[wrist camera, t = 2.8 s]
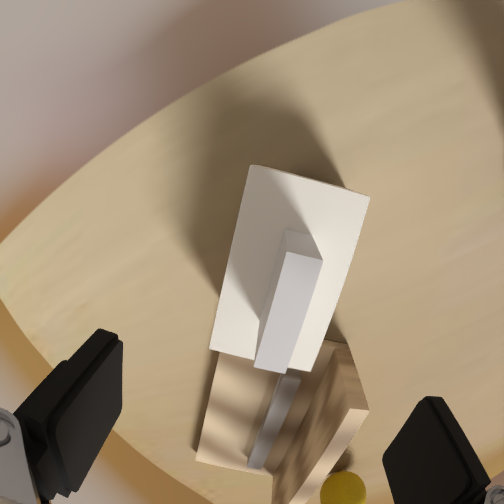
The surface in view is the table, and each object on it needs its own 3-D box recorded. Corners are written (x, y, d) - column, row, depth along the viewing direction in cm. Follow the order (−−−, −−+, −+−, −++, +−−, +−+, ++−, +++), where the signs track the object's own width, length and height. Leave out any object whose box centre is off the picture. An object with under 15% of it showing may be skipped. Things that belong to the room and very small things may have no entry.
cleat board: (228, 317, 28) (207, 380, 19) (347, 344, 28) (369, 410, 19) (197, 453, 33) (181, 510, 25) (285, 470, 33) (283, 528, 24)
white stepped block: (257, 164, 24) (239, 164, 13) (345, 187, 24) (401, 209, 13) (225, 305, 28) (191, 396, 16) (304, 324, 27) (316, 422, 16)
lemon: (369, 467, 32) (379, 515, 25) (337, 486, 34) (342, 532, 26) (342, 454, 32) (350, 506, 24) (309, 474, 33) (311, 524, 25)
